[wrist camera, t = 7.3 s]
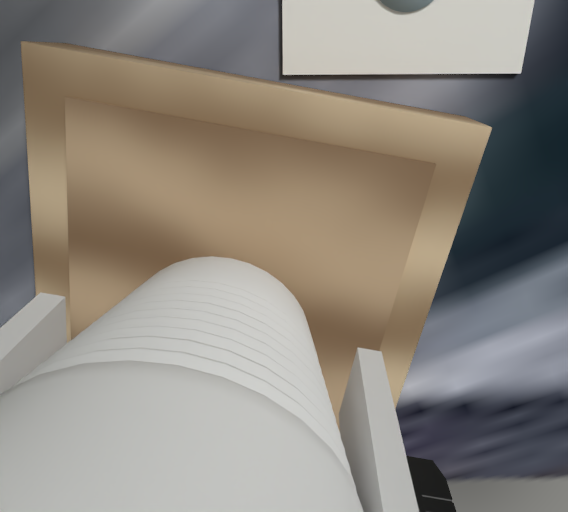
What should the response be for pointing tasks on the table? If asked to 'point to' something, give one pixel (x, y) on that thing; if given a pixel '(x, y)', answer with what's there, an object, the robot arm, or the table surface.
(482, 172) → the table surface
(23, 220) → the table surface
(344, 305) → the plinth block
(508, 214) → the table surface
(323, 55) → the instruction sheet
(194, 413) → the cup
